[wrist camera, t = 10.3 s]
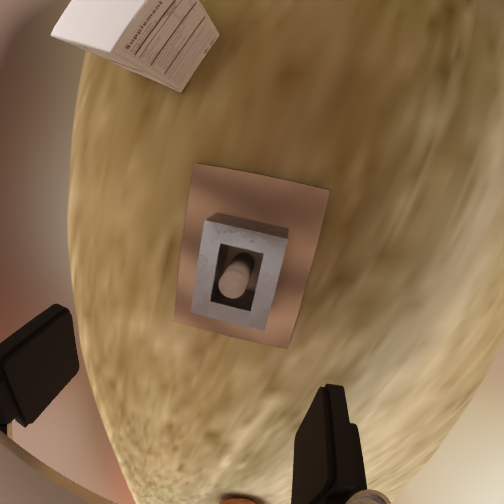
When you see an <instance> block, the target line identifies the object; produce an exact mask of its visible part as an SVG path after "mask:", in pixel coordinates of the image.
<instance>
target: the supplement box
mask: <svg viewBox="0 0 504 504" xmlns="http://www.w3.org/2000/svg"><path fill="white" fill-rule="evenodd" d="M51 36H53V37H55V38H58V39H60V40H63V41H65V42H68V43H70V44H73V45H75V46H77V47H80V48H82V49H84V50H87V51H89V52H91V53H93V54H95V55H97V56H99V57H102V58H104V59H106V60H108V61H110V62H112V63H114V64H116V65H118V66H120V67H122V68H124V69H126V70H128V71H131V72H134V73H137V74H139V75H142V76H144V77H146V78H149V79H151V80H153V81H156V82H158V83H160V84H163V85H165V86H167V87H169V88H171V89H173V90H175V91H177V92H179V93H181V92H182V91H183V89H184V88H185V86H186V85H187V83H188V82H189V80H190V78H191V77H192V75H193V74H194V72H195V71H196V69H197V67H198V66H199V65H200V63H201V62H202V60H203V59H204V57H205V56H206V54H207V53H208V51H209V50H210V49H211V47H212V46H213V44H214V43H215V41H216V40H217V39H218V37H219V36H220V34H219V32H218V31H217V29H216V27H215V25H214V24H213V22H212V21H211V19H210V17H209V15H208V14H207V12H206V11H205V9H204V7H203V6H202V4H201V2H200V1H199V0H72V1H71V2H70V4H69V5H68V7H67V8H66V10H65V11H64V13H63V14H62V16H61V17H60V19H59V21H58V22H57V24H56V25H55V27H54V29H53V31H52V33H51Z"/></svg>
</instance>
